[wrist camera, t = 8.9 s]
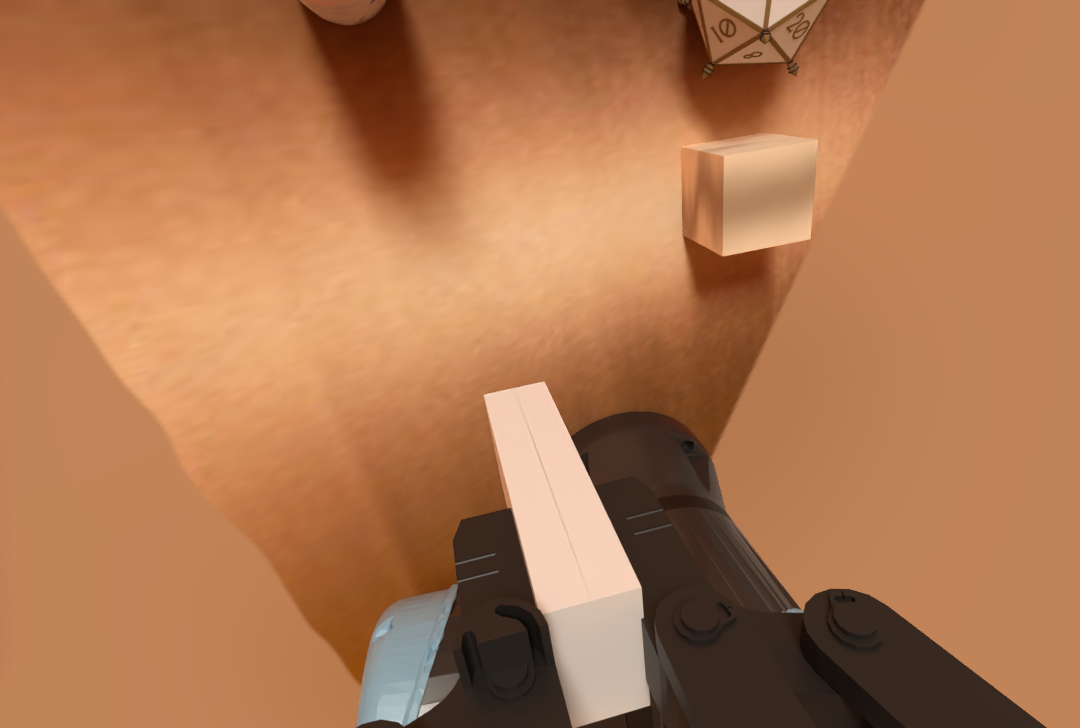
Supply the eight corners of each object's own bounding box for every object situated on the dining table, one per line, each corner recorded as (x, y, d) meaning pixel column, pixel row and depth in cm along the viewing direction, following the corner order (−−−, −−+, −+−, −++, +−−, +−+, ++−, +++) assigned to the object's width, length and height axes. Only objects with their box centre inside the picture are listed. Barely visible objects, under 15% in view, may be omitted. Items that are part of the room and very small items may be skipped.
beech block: (759, 219, 43) (810, 239, 37) (682, 234, 42) (722, 256, 36) (763, 132, 40) (818, 139, 34) (680, 146, 39) (723, 156, 34)
